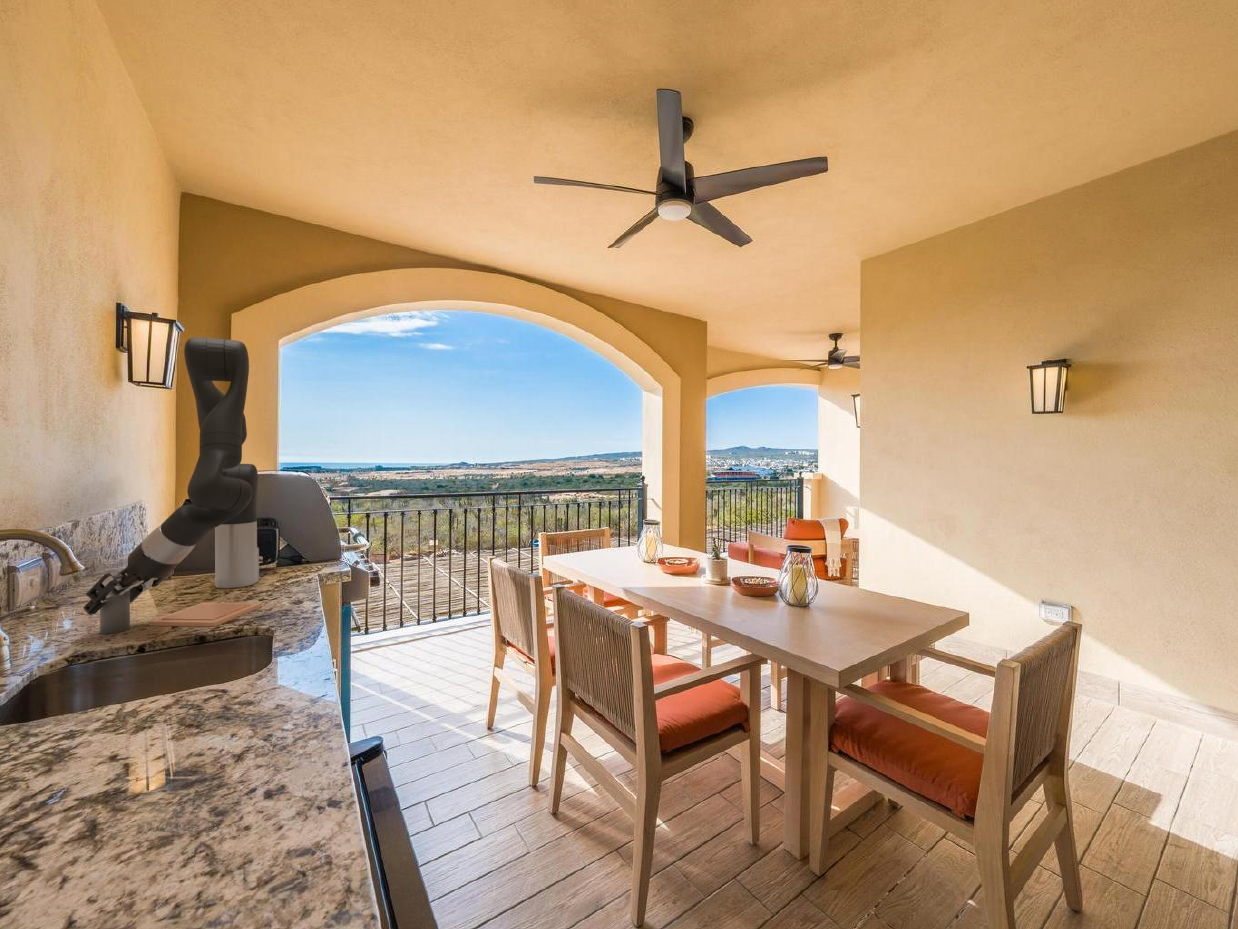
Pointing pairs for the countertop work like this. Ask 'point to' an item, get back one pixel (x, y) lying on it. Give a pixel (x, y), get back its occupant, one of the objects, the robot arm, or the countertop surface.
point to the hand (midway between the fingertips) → (107, 605)
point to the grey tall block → (115, 614)
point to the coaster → (205, 614)
